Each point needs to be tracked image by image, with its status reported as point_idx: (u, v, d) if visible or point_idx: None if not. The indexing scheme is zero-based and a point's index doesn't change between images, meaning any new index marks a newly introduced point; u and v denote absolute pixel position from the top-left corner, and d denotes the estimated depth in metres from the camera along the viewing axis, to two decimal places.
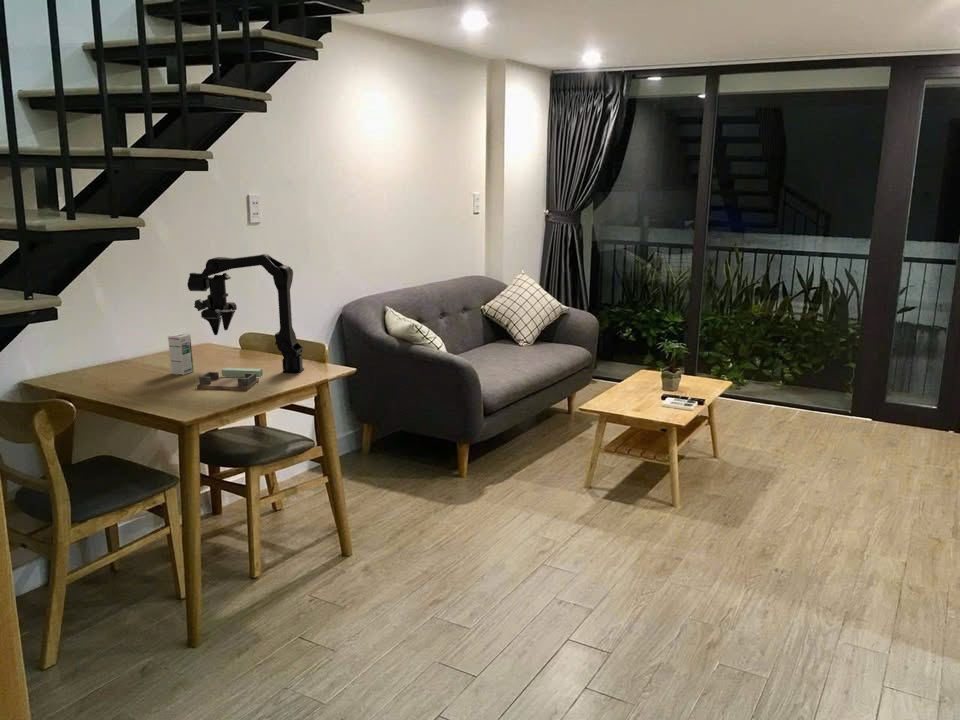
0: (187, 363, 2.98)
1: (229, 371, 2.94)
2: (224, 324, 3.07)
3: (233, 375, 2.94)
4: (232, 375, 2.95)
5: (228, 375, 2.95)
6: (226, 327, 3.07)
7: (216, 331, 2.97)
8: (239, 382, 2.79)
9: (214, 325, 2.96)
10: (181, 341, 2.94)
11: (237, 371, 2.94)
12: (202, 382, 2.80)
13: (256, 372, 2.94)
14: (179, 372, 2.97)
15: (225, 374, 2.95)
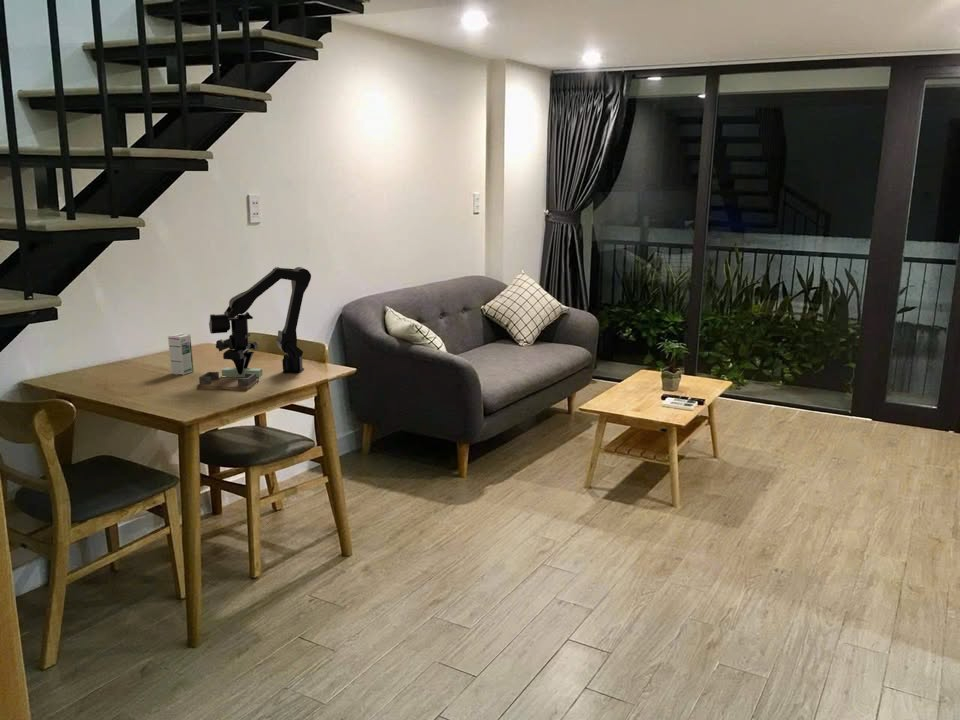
0: (187, 363, 2.98)
1: (229, 371, 2.94)
2: None
3: (233, 375, 2.94)
4: (232, 375, 2.94)
5: (228, 375, 2.94)
6: None
7: (241, 370, 2.93)
8: (239, 382, 2.79)
9: (239, 364, 2.92)
10: (181, 341, 2.94)
11: (237, 371, 2.94)
12: (202, 382, 2.80)
13: (256, 372, 2.94)
14: (179, 372, 2.97)
15: (225, 374, 2.94)
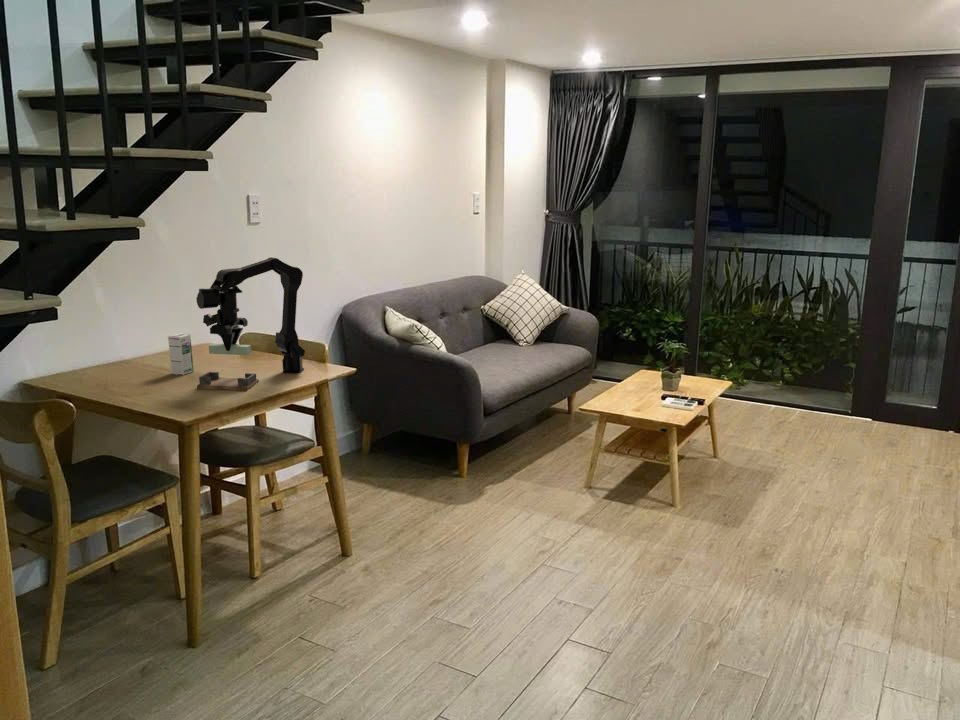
0: (187, 363, 2.98)
1: (216, 347, 2.84)
2: None
3: (220, 351, 2.84)
4: (219, 351, 2.84)
5: (215, 351, 2.84)
6: None
7: (228, 347, 2.82)
8: (239, 382, 2.79)
9: (226, 340, 2.81)
10: (181, 341, 2.94)
11: (224, 347, 2.83)
12: (202, 382, 2.80)
13: (244, 348, 2.83)
14: (179, 372, 2.97)
15: (212, 350, 2.84)
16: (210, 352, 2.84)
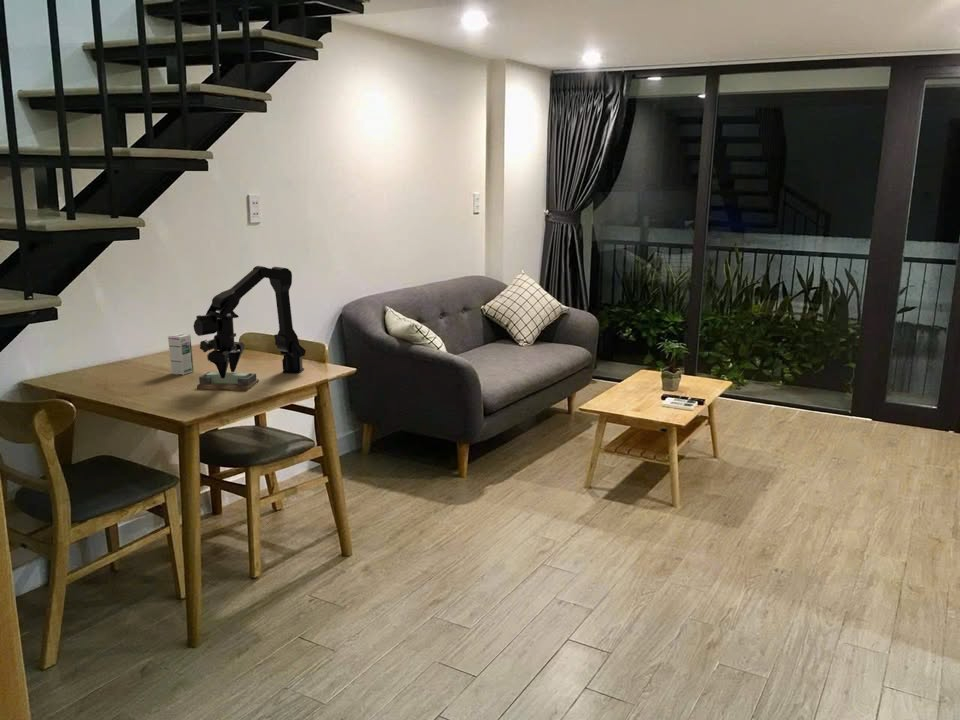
0: (187, 363, 2.98)
1: (214, 376, 2.81)
2: (231, 365, 2.86)
3: (218, 380, 2.82)
4: (217, 380, 2.82)
5: (213, 380, 2.82)
6: (233, 369, 2.86)
7: (223, 374, 2.77)
8: (239, 382, 2.79)
9: (221, 368, 2.76)
10: (181, 341, 2.94)
11: None
12: (202, 382, 2.80)
13: (242, 377, 2.81)
14: (179, 372, 2.97)
15: None
16: None
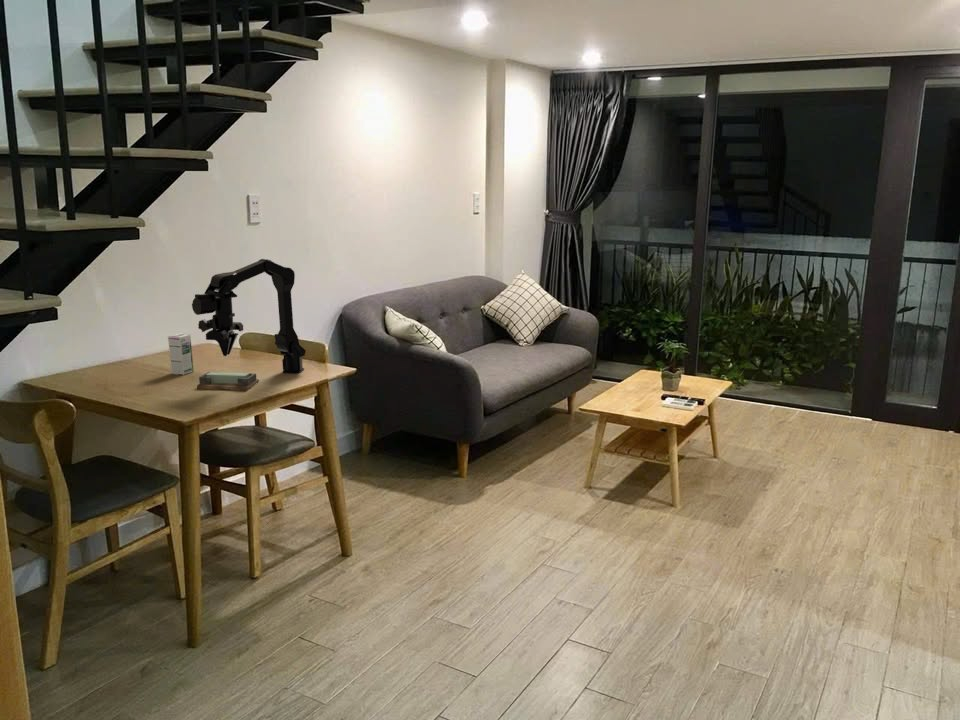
0: (187, 363, 2.98)
1: (214, 376, 2.81)
2: None
3: (218, 380, 2.82)
4: (217, 380, 2.82)
5: (213, 380, 2.82)
6: (228, 351, 2.82)
7: (225, 352, 2.79)
8: (239, 382, 2.79)
9: (223, 345, 2.78)
10: (181, 341, 2.94)
11: (222, 376, 2.81)
12: (202, 382, 2.80)
13: (242, 377, 2.81)
14: (179, 372, 2.97)
15: None
16: None
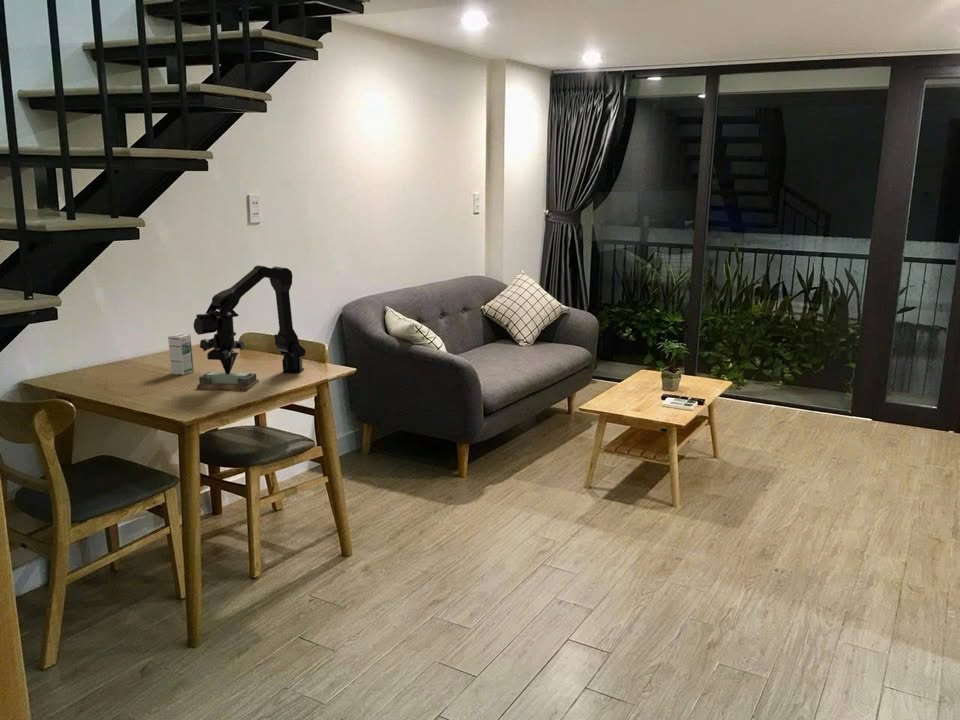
0: (187, 363, 2.98)
1: (214, 376, 2.81)
2: None
3: (218, 380, 2.82)
4: (217, 380, 2.82)
5: (213, 380, 2.82)
6: None
7: (228, 370, 2.81)
8: (239, 382, 2.79)
9: (226, 364, 2.80)
10: (181, 341, 2.94)
11: (222, 376, 2.81)
12: (202, 382, 2.80)
13: (242, 377, 2.81)
14: (179, 372, 2.97)
15: None
16: None
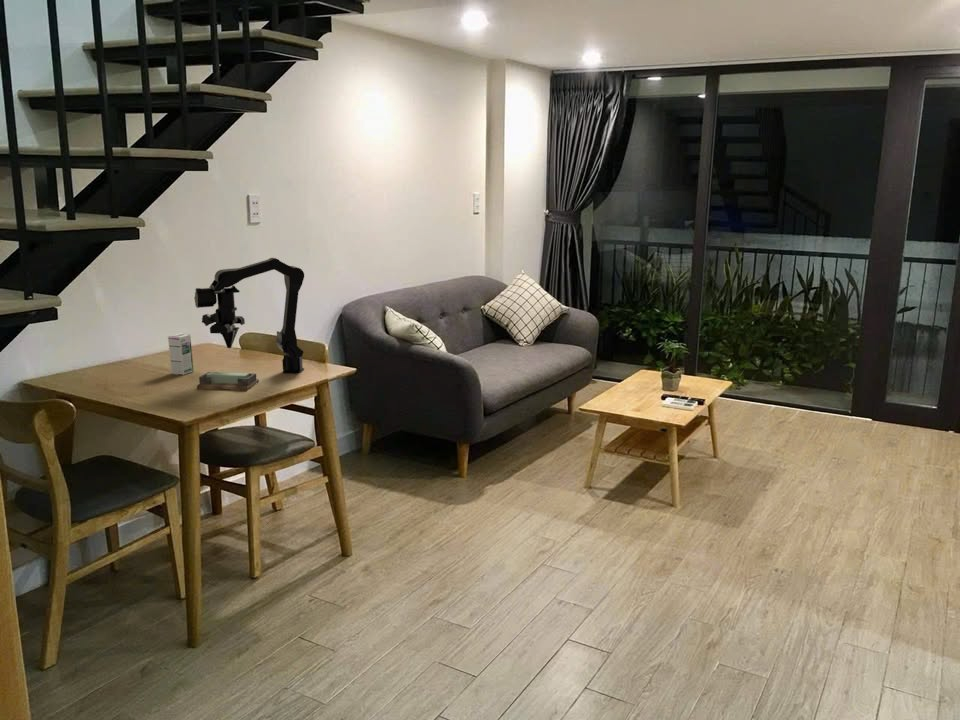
0: (187, 363, 2.98)
1: (214, 376, 2.81)
2: None
3: (218, 380, 2.82)
4: (217, 380, 2.82)
5: (213, 380, 2.82)
6: None
7: (230, 344, 2.89)
8: (239, 382, 2.79)
9: (228, 338, 2.88)
10: (181, 341, 2.94)
11: (222, 376, 2.81)
12: (202, 382, 2.80)
13: (242, 377, 2.81)
14: (179, 372, 2.97)
15: None
16: None
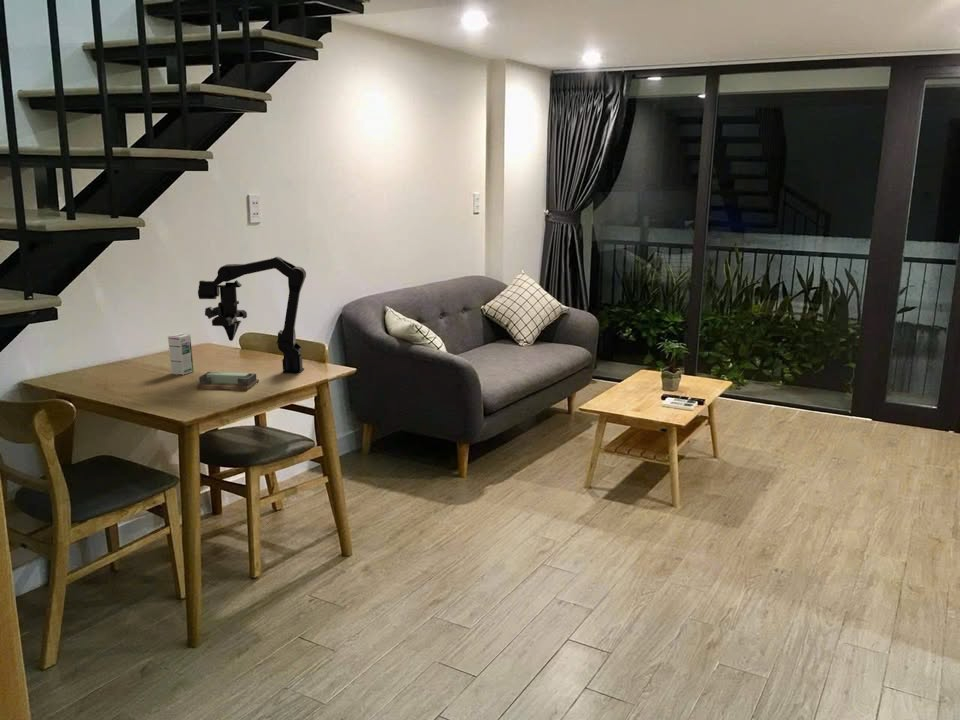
0: (187, 363, 2.98)
1: (214, 376, 2.81)
2: None
3: (218, 380, 2.82)
4: (217, 380, 2.82)
5: (213, 380, 2.82)
6: None
7: (231, 337, 2.99)
8: (239, 382, 2.79)
9: (229, 331, 2.97)
10: (181, 341, 2.94)
11: (222, 376, 2.81)
12: (202, 382, 2.80)
13: (242, 377, 2.81)
14: (179, 372, 2.97)
15: None
16: None
